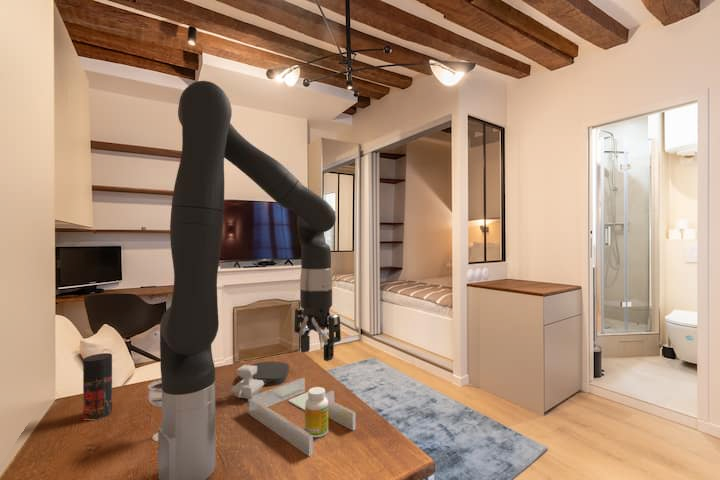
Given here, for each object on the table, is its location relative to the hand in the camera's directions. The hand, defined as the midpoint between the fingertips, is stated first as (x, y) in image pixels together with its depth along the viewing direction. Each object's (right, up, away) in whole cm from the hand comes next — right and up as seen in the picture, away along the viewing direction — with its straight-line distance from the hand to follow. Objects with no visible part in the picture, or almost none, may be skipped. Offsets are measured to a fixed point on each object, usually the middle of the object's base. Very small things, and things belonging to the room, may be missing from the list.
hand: (316, 355), depth 79 cm
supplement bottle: (0, -18, 0) cm, 18 cm away
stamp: (-22, -18, +18) cm, 34 cm away
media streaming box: (-21, -19, +33) cm, 43 cm away
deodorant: (-58, -18, +8) cm, 61 cm away
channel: (-4, -18, +6) cm, 19 cm away
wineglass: (-35, -18, -1) cm, 40 cm away
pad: (-4, -18, +14) cm, 23 cm away
